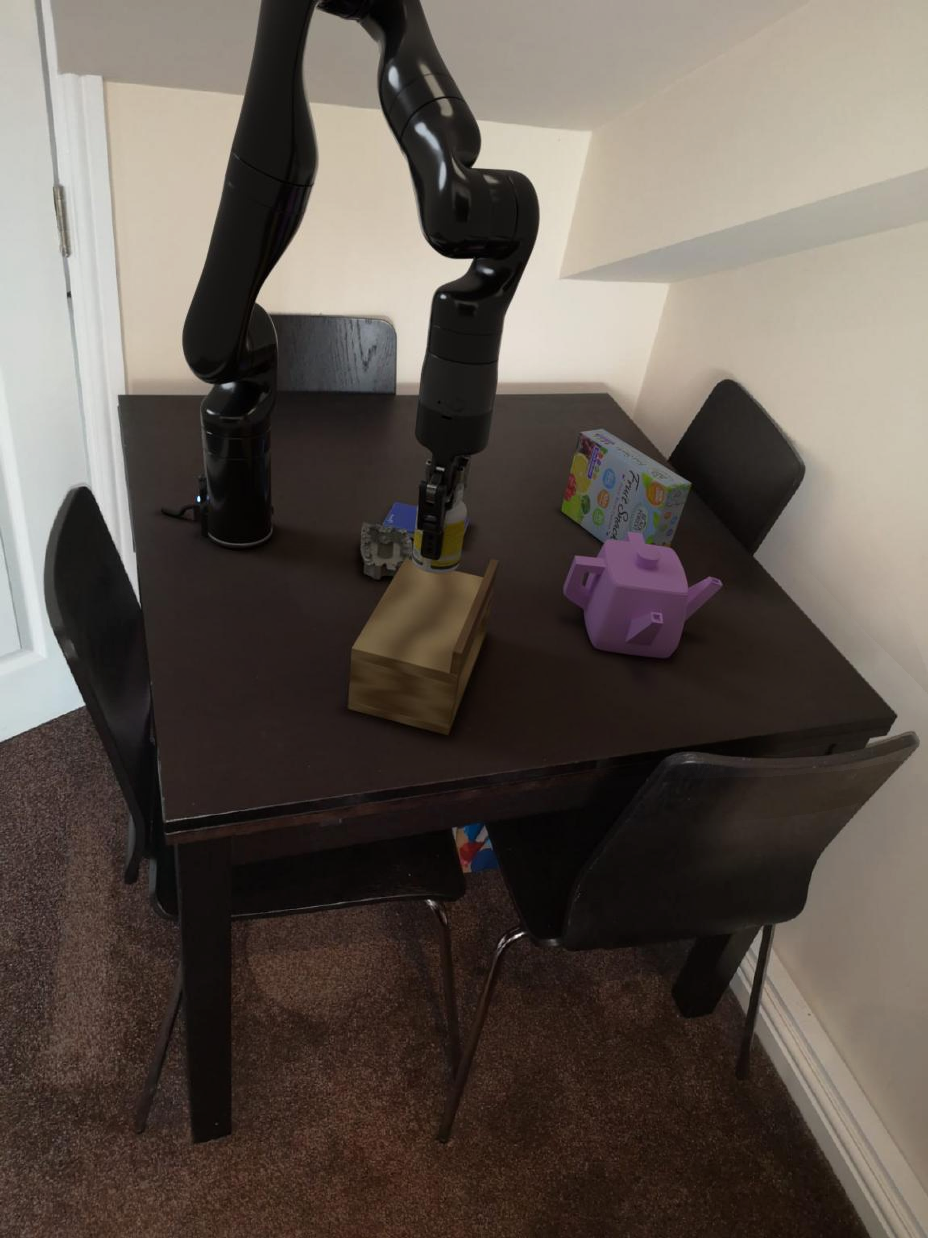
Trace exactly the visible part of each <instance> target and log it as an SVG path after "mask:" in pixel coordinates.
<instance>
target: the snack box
mask: <svg viewBox="0 0 928 1238" xmlns="http://www.w3.org/2000/svg"><path fill="white" fill-rule="evenodd" d="M577 438H578V439H577V442H576V447H575V452H574V455H573V460H572V464H571V467H570V473H569V475H568V480H567V484H566V489H565V494H564V497H563V501H562V506H561V510H560V511H561V512H562V513H563V514H564V515H566V516H567V517H568V518H569V519H571V520H572V521H574V522H575V523H576V524H577V525H579V526H581V528H583V529H584V530H586V531H587V532H588V533H590V534H591V535H592V536H593V537H595V538H596V539H598V540H599V541H600V542H601V543H603V544H604V543H605V541H606V540H620V541H624V540H625V537H626V534H627V531H628V532H634V533H641V534H642V535H643V539H644V542H645V544H650V545H657V546H663V547H668V548H671V546H672V543H673V539H674V537H675V533H676V530H677V527H678V524H679V522H680V519H681V516H682V513H683V509H684V507H685V504H686V502H687V498H688V496H689V492H690V490H691V487H692V484H693V483H692V482H690V481H689V480H687V479H686V478H685V477H682V476H680V475H679V474H677V473H676V472H674V471H672V470H670V469H669V468H667V467H666V466H664V465H663V464H661V463H660V462H657V461H656V460H654V459H653V458H651V457H649V456H648V455H646V454H645V453H643V452H641V451H639V450H638V449H636V448H635V447H633V446H632V445H630V444H628V443H626V442H625V441H623V440H622V439H621V438H618V437H616V436H615V435H614V434H612V433H610V432H609V431H607V430H606V429H604V428H599V429H598V428H597V429H591V430H585V431H580V432H579V435H578V437H577Z"/></svg>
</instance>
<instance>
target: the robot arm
mask: <svg viewBox="0 0 928 1238" xmlns="http://www.w3.org/2000/svg"><path fill="white" fill-rule="evenodd" d="M316 10H318V11H320V12H323V13H326V14H327V15H331V16H334V17H336V18H339V19H341V20H345V21H349V22H354V23H356V24H357V25H358V26H359V27H360V28H361V29H362V30H363V31H364V32H365V34H366V35H367V36H368V37H369V39H370V40H371V41H372V43H373V44H374V46H375V47H376V49H377V50H378V53H379V60H378V65H377V72H376V94H377V100H378V106H379V109H380V112H381V114H382V117H383V119H384V122H385V125H386V126H387V128H388V130H389V132H390V134H391V135H392V138H393V139H394V141H395V143H396V145H397V148H398V149H399V151H400V153H401V154H402V156H403V158H404V160H405V162H406V164H407V168H408V173H409V177H410V182H411V186H412V187H411V188H412V192H413V197H414V201H415V202H414V203H415V209H416V214H417V221H418V225H419V229H420V231H421V234H422V236H423V238H424V240H425V241H426V242H427V244H428V245H429V246H430V247H431V249H433V251H435V252H436V253H438V254H439V255H440V256H442V257H444V258H447V259H450V260H471V262H470V265H469V267H468V269H467V271H466V272H465V273H464V274H463V275H462V276H460V277H458V278H456V279H453V280H451V281H447V282H446V283H443V284H441V285H440V286H438V287H437V289H435V291H434V292H433V294H432V297H431V301H430V302H431V303H430V308H429V318H428V319H429V320H428V327H427V337H426V347H425V353H424V358H423V362H422V365H421V371H420V377H419V378H420V380H419V389H418V399H417V409H416V418H415V428H414V436H415V439H416V441H417V442H418V443H419V444H420V445H421V446H422V447H423V448H426V449H427V450H428V451H429V452H430V453H431V459H427V460H426V462H425V467H424V472H423V475H424V480H421V481H420V483H419V484H418V502H417V507H418V518H417V530H421V531H422V530H423V534H422V543H421V551H420V554H421V556H422V557H424V558H428V559H432V560H439V559H440V557H441V555H442V548H443V540H444V533H445V529H446V527H447V524H446V523H447V518H448V514H449V511H450V510H452V509H454V507H455V503H456V499H457V494H458V489H459V485H460V484H461V483H462V484H463V485H464V491H465V490H466V489H467V486H468V484H467V483H468V475H469V469H470V466H471V459H472V456H474V455H478V454H479V453H481V452H483V451H485V449H486V448H487V446H488V445H489V438H490V434H491V433H490V432H491V427H492V422H493V421H492V419H493V414H494V408H495V401H496V395H497V391H498V390H497V389H498V382H499V361H500V353H501V347H502V342H503V334H504V328H505V320H506V316H507V314H508V313H507V312H508V310H509V308H510V305H511V303H512V302H513V299H514V297H515V295H516V292H517V290H518V287H519V284H520V283H521V280H522V278H523V276H524V273H525V270H526V269H527V266H528V264H529V261H530V259H531V256H532V254H533V251H534V249H535V245H536V242H537V239H538V235H539V230H540V221H541V207H540V200H539V196H538V193H537V190H536V188H535V186H534V184H533V183H532V181H531V180H530V178H529V177H528V176H527V175H526V174H524V173H522V172H520V171H517V170H513V169H505V168H504V169H502V168H501V169H500V168H483V167H482V168H481V167H474V166H475V164H476V162H477V161H478V158H479V156H480V154H481V150H482V134H481V129H480V126H479V124H478V121H477V119H476V117H475V116H474V114H473V111H472V110H471V108H470V106H469V104H468V102H467V101H466V99H465V97H464V95H463V93H462V92H461V90H460V88H459V86H458V85H457V83H456V81H455V79H454V77H453V76H452V75H451V72H450V71H449V69H448V67H447V65H446V63H445V61H444V59H443V57H442V55H441V53H440V51H439V49H438V47H437V45H436V42H435V39H434V37H433V35H432V32H431V29H430V26H429V22H428V20H427V18H426V14H425V12H424V8H423V5H422V3H421V0H260V7H259V13H258V19H257V20H258V21H257V28H256V35H255V41H254V47H253V53H252V57H251V63H250V66H249V67H250V68H249V72H248V76H247V81H246V86H245V91H244V95H243V99H242V104H241V108H240V113H239V117H238V120H237V124H236V128H235V131H234V135H233V139H232V142H231V146H230V147H231V148H230V152H229V156H228V160H227V166H226V169H225V174H224V177H223V182H222V188H221V194H220V199H219V203H218V209H217V212H216V216H215V220H214V224H213V228H212V232H211V237H210V241H209V245H208V249H207V253H206V257H205V260H204V265H203V267H202V270H201V274H200V277H199V279H198V282H197V285H196V288H195V290H194V292H193V296H192V298H191V301H190V304H189V307H188V310H187V313H186V316H185V320H184V322H183V327H182V332H181V333H182V334H181V344H182V345H181V346H182V351H183V356H184V358H185V362H186V364H187V366H188V368H189V370H190V371H191V372H192V373H193V375H194V376H195V378H197V379H198V380H200V381H202V382H203V383H204V384H205V383H206V384H208V385H213V386H212V387H211V389H210V391H209V392H208V393H207V395H206V396H205V397H204V398H203V399H202V401H201V403H200V406H199V421H200V436H201V449H202V464H203V465H202V466H203V472H202V473H201V474H200V475H198V478H197V483H198V496H197V499H196V500H195V502H194V503H188V504H185V505H183V506H181V508H180V509H179V511H175V510H172V509H169V508H166V507H163V506H162V507H161V508H160V512H161V513H162V514H163V513H164V514H165V515H168V516H171V517H175V518H179V517H182V516H184V514H185V513H186V511H188V510H192V511H193V521H194V522H198V523H200V526H201V535H202V537H203V536H204V537H207V538H208V539H209V540H210V541H211V542H212V543H213V544H215V545H217V546H219V547H223V548H226V549H233V550H246V549H253V548H257V547H260V546H263V545H264V544H266V543H267V542H269V541H270V540H271V539H272V537H273V518H272V516H274V512H275V511H274V506H273V505H272V502H273V501H272V443H271V440H272V438H271V437H272V436H271V433H272V431H271V430H272V429H271V425H272V424H271V423H272V422H271V418H272V414H273V411H274V409H275V407H276V403H277V397H278V396H277V395H278V393H277V392H278V376H279V375H278V371H279V341H278V334H277V331H276V328H275V327H276V326H275V325H274V322H273V320H272V317H271V316H270V315H269V313H268V312H267V311H266V309H265V308H264V307H263V306H262V305H260V304H259V303H258V302H257V298H258V296H259V294H260V292H261V290H262V287H263V286H264V284H265V282H266V280H267V279H268V277H269V276H270V274H271V273H272V272H273V270H274V268H275V267H276V266H277V264H278V263H279V261H280V260H281V259H282V257H283V255H285V253H286V251H287V249H288V248H289V246H290V245H291V243H292V242H293V240H294V239H295V237H296V235H297V234H298V232H299V231H300V228H301V226H302V223H303V221H304V218H305V216H306V214H307V210H308V207H309V203H310V201H311V198H312V197H311V196H312V194H313V190H314V187H315V184H316V180H317V176H318V173H319V167H320V151H319V150H320V149H319V142H318V137H317V132H316V127H315V126H316V125H315V123H314V122H315V121H314V117H313V113H312V108H311V105H310V100H309V96H308V91H307V85H306V73H305V72H306V71H305V65H306V53H307V47H308V40H309V35H310V29H311V26H312V22H313V17H314V14H315V11H316ZM447 496H450V499H449V501H445V497H447ZM429 516H434V517H435V518H432V517H429Z"/></svg>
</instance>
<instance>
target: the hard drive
mask: <svg viewBox="0 0 928 1238" xmlns="http://www.w3.org/2000/svg"><path fill="white" fill-rule="evenodd" d="M417 507H418V506H414V505H411V504H406V503H401V502H394V504H393V506H392V507H391V509H390V511H388V514H387V516H386V518H385V519H384V521H383V523H382V524H381V526H383V525H385V526H388V527H391V526H394V527H395V529H397V530H401V529H402V528H405V529H406V531H407V536H409V538H410V539H413V540H414V535H415V525H416V516H417ZM469 522H470V517H466V522H465V529H464V535H465V534H466V532H467V529H468V526H469Z"/></svg>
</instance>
